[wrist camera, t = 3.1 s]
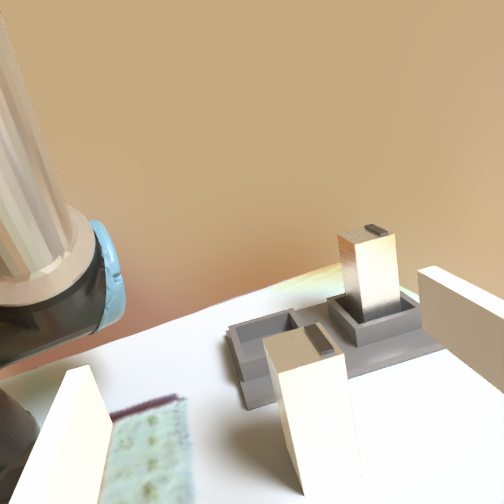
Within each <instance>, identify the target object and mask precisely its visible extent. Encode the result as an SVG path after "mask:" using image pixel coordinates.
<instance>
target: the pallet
mask: <svg viewBox="0 0 504 504" xmlns="http://www.w3.org/2000/svg"><path fill="white" fill-rule="evenodd" d="M326 299H327V302H326V303H322V304H319V305H315V306H312V307H308V308H305V309H301V310H298V311H294V309H293V308H291V309H288V310H284V311H281V312H277V313H274V314H270V315H267V316H263V317H260V318H256V319H253V320H249V321H246V322H242V323H239V324H235V325H232V326H228V327H229V330H228V331H226V334H227V338H228V341H229V345H230V348H231V352H232V355H233V359H234V362H235V366H236V370H237V373H238V377H239V380H240V384H241V387H242V391H243V394H244V398H245V401H246V405H247V409H248V410H251V409H255V408H258V407H261V406H264V405H267V404H270V403H274V402H276V397H275V393H274V388H273V384H272V379H271V375H270V371H269V366H268V362H267V357H266V353H265V349H264V344H263V340H262V339H263V338H266V337H270V336H273V335H277V334H280V333H283V332H287V331H290V330H294V329H297V328H301V327H304V326H307V325H311V324H314V323H318V322H320V324H321V325H322V326H323V327H324V329H325V330H326V331H327V333H328V334H329V335H330V336H331V338H332V339H333V340H334V342H335V343H336V344H337V345H338V347H339V348H340V349H341V350H342V352H343V353H344V357H345V364H346V371H347V377H348V379H350V378H353V377H356V376H359V375H363V374H366V373H369V372H372V371H375V370H378V369H382V368H385V367H388V366H391V365H394V364H398V363H401V362H404V361H407V360H410V359H413V358H417V357H420V356H423V355H426V354H429V353H432V352H436V351H439V350H442V349H445V347H444V346H442V345H441V344H440V343H439V342H437V341H436V340H435V339H433V338H432V337H431V336H430V335H428V334H427V333H426V332H424V331H423V330H422V323H421V310H420V304H419V303H417V302H416V301H415V300H413V299H412V298H410V297H409V296H407V295H406V294H405V293H403V292H402V291H400V300H401V311H402V312H399V313H396V314H393V315H389V316H386V317H382V318H379V319H376V320H372V321H369V322H366V323H362V324H358V323H357V322H356V321H355V320H354V319H353V318H352V317H351V316H350V315H349V314H348V308H347V301H346V294H345V293H344V294H340V295H337V296H333V297H330V298H326Z"/></svg>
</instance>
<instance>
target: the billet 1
mask: <svg viewBox="0 0 504 504" xmlns="http://www.w3.org/2000/svg"><path fill="white" fill-rule="evenodd" d="M262 340H263V344H264V349H265V353H266V357H267V362H268V366H269V371H270V375H271V379H272V384H273V388H274V393H275V397H276V402H277V406H278V410H279V415H280V419H281V424H282V428H283V432H284V437H285V441H286V446H287V450H288V453H289V455H290V458H291V461H292V463H293V466H294V469H295V471H296V474H297V477H298V480H299V482H300V485H301V488H302V490H303V493H304V496H308V495H311V494H313V493H316V492H319V491H322V490H325V489H328V488H331V487H333V486H336V485H339V484H342V483H345V482H348V481H351V480H354V479H356V478H359V477H362V471H361V464H360V458H359V451H358V444H357V437H356V431H355V424H354V417H353V411H352V404H351V397H350V391H349V384H348V377H347V371H346V364H345V357H344V353H343V352H342V350H341V349H340V348H339V347H338V345H337V344H336V343H335V342H334V340H333V339H332V338H331V336H330V335H329V334H328V333H327V331H326V330H325V329H324V327H323V326H322V325H321V324H320V322H318V323H314V324H311V325H307V326H304V327H301V328H297V329H294V330H290V331H287V332H283V333H280V334H277V335H273V336H270V337H266V338H263V339H262Z"/></svg>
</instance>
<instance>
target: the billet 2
mask: <svg viewBox="0 0 504 504" xmlns="http://www.w3.org/2000/svg"><path fill="white" fill-rule="evenodd" d="M337 236H338V244H339V251H340V258H341V265H342V272H343V280H344V287H345V294H346V301H347V308H348V314H349V315H350V316H351V317H352V318H353V319H354V320H355V321H356V322H357V323H358V324H362V323H366V322H369V321H372V320H376V319H379V318H382V317H386V316H389V315H393V314H396V313H399V312H402V311H401V300H400V289H399V278H398V268H397V255H396V244H395V234H394V233H391V232H389V231H387V230H385V229H383V228H381V227H379V226H376V225H374V224H370V225H365V226H364V227H361V228H358V229H354V230H350V231H346V232H342V233H339V234H337Z"/></svg>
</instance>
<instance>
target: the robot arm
mask: <svg viewBox="0 0 504 504" xmlns="http://www.w3.org/2000/svg"><path fill="white" fill-rule="evenodd" d="M417 272H418V284H419V297H420V310H421V323H422V330H423V331H424V332H426V333H427V334H428V335H430V336H431V337H432V338H433V339H435V340H436V341H437V342H439V343H440V344H441V345H442V346H444V347H445V348H446V349H447V350H449V351H450V352H451V353H453V354H454V355H455V356H456V357H458V358H459V359H460V360H462V361H463V362H464V363H465V364H467V365H468V366H469V367H470V368H472V369H473V370H474V371H476V372H477V373H478V374H479V375H481V376H482V377H483V378H485V379H486V380H487V381H488V382H490V383H491V384H492V385H493V386H495V387H496V388H497V389H499V390H500V391H501V392H502V393H504V300H502V299H500V298H498V297H496V296H494V295H492V294H490V293H488V292H486V291H484V290H482V289H480V288H478V287H476V286H474V285H472V284H470V283H468V282H466V281H464V280H462V279H460V278H458V277H456V276H454V275H452V274H450V273H448V272H446V271H444V270H442V269H440V268H438V267H436V266H432V267H428V268H425V269H421V270H418V271H417ZM125 305H126V295H125V286H124V281H123V278H122V276H121V268H120V263H119V260H118V257H117V254H116V251H115V248H114V245H113V243H112V240H111V238H110V236H109V234H108V232H107V230H106V228H105V227H104V225H103V224H102V223H100V222H99V221H97V220H87V219H86V218H85V217H84V216H83V214H81V213H80V212H79V211H77V210H76V209H75V208H73V207H71V206H68V205H66V203H65V200H64V197H63V194H62V191H61V188H60V185H59V182H58V179H57V176H56V173H55V171H54V168H53V165H52V162H51V159H50V156H49V153H48V150H47V147H46V144H45V141H44V138H43V136H42V132H41V130H40V127H39V124H38V121H37V118H36V115H35V112H34V109H33V106H32V104H31V100H30V97H29V95H28V92H27V89H26V86H25V83H24V80H23V77H22V74H21V71H20V68H19V65H18V62H17V59H16V56H15V53H14V51H13V48H12V45H11V42H10V39H9V36H8V33H7V30H6V27H5V24H4V21H3V18H2V15H1V12H0V369H2V368H4V367H7V366H9V365H12V364H15V363H17V362H19V361H22V360H25V359H27V358H30V357H32V356H35V355H37V354H40V353H42V352H45V351H47V350H49V349H52V348H55V347H57V346H59V345H62V344H64V343H67V342H69V341H72V340H75V339H77V338H80V337H82V336H85V335H92V334H95V333H97V332H98V331H99V330H100V329H102V328H104V327H106V326H108V325H110V324H113V323H115V322H116V321H118V320H119V319H120V318H121V317H122V315H123V313H124V310H125ZM112 425H113V424H112V421H111V419H110V416H109V414H108V411H107V409H106V406H105V404H104V401H103V399H102V397H101V394H100V392H99V389H98V387H97V384H96V382H95V379H94V377H93V374H92V372H91V369H90V367H89V365H85V366H82V367H78V368H75V369H71V370H68V371H67V372H66V374H65V377H64V379H63V381H62V384H61V386H60V388H59V390H58V393H57V395H56V397H55V399H54V402H53V404H52V406H51V409H50V411H49V413H48V415H47V418H46V420H45V422H44V424H43V427H42V429H41V430H40V428H39V426H38V424H37V422H36V420H35V418H34V417H33V415H32V414H31V413H29V412H28V411H26V410H25V409H24V408H22V407H21V406H20V405H19V404H18V403H17V402H16V401H15V400H14V399H12V398H11V397H10V396H9V395H8V394H7V393H5V392H4V391H3V390H2V389H0V504H97V499H98V494H99V490H100V485H101V480H102V475H103V470H104V465H105V460H106V455H107V450H108V445H109V440H110V435H111V430H112Z"/></svg>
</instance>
